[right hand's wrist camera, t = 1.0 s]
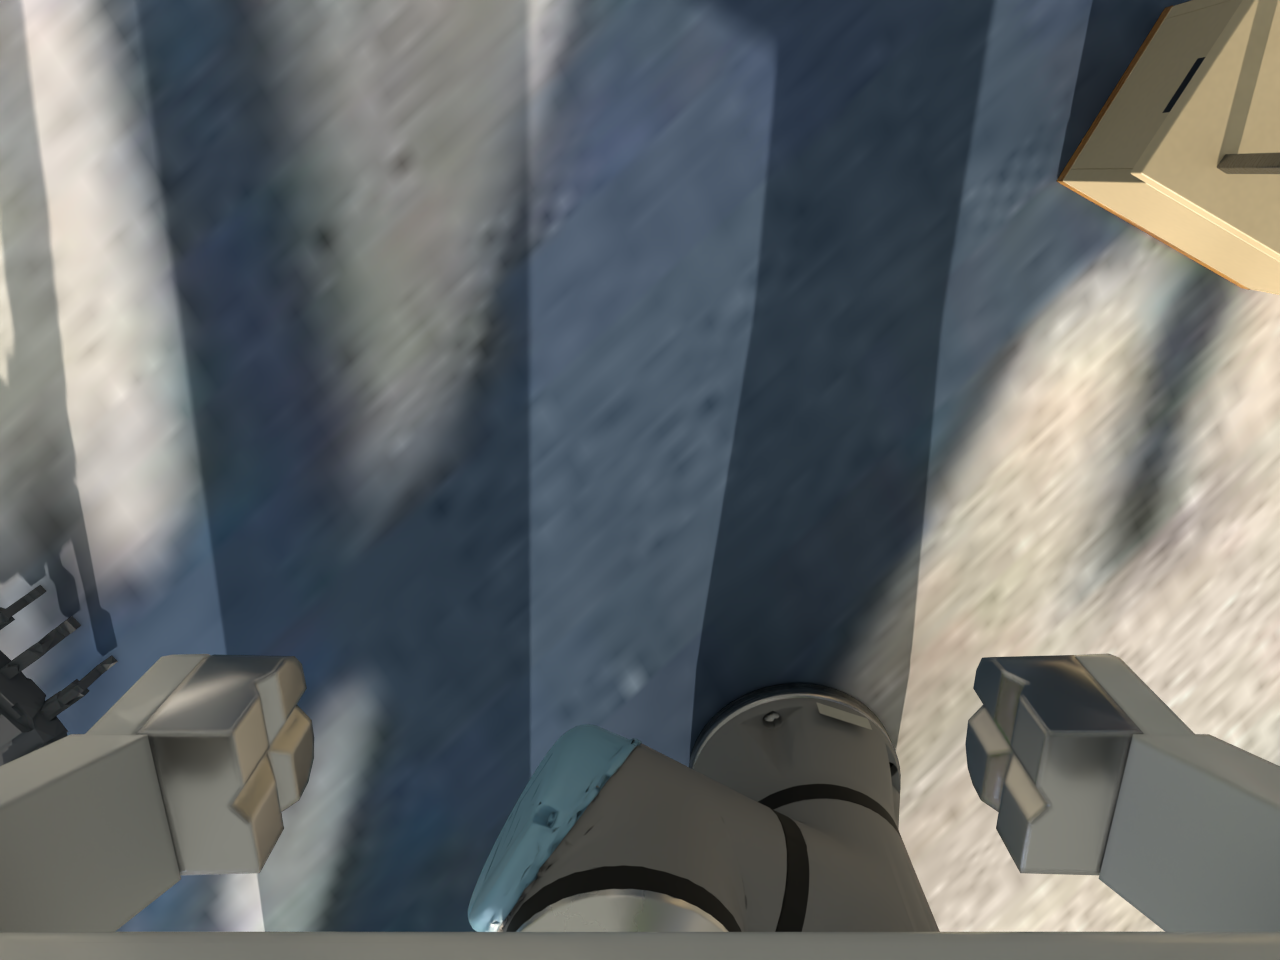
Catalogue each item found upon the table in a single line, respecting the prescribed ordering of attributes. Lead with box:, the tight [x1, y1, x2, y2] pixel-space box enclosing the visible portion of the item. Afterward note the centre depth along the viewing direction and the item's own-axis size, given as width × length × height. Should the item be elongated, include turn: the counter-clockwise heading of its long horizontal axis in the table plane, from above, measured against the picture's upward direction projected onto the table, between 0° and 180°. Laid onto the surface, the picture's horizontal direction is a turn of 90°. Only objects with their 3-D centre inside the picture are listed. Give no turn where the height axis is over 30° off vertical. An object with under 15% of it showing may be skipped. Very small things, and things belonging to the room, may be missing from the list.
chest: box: [1057, 0, 1280, 295], centre depth 45 cm, size 14×10×9 cm
